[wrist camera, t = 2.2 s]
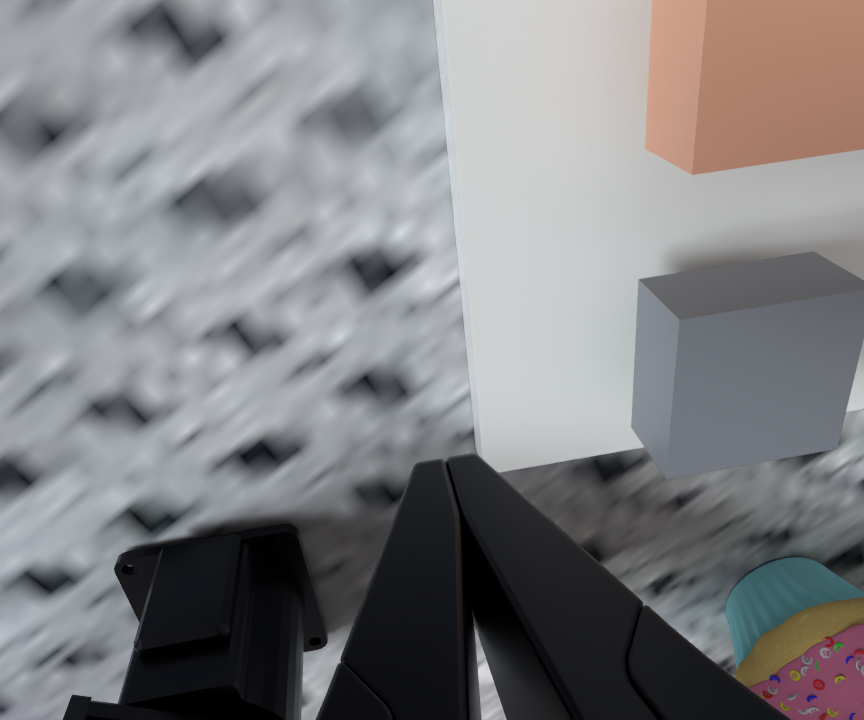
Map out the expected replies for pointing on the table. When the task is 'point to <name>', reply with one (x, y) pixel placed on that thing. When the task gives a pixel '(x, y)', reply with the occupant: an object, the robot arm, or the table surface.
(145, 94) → the table surface
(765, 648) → the cupcake
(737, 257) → the button board
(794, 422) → the charcoal button
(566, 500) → the table surface
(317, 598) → the robot arm
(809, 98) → the terracotta button
